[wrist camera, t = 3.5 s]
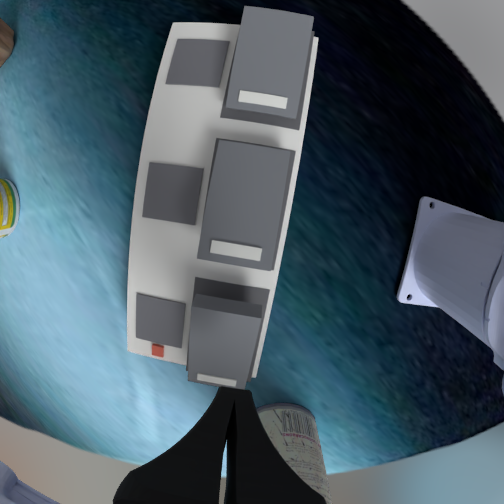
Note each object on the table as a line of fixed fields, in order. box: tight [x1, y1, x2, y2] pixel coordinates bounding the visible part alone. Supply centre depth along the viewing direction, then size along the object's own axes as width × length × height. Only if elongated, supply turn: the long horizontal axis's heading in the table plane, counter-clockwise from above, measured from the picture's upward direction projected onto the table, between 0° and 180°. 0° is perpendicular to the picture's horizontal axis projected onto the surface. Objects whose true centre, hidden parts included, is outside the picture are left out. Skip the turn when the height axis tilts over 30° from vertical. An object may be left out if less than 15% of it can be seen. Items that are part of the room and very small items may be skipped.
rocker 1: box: [226, 6, 314, 119], centre depth 13 cm, size 4×6×2 cm, turn 170°
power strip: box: [127, 22, 318, 382], centre depth 18 cm, size 9×23×3 cm, turn 170°
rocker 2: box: [197, 140, 291, 271], centre depth 15 cm, size 4×6×2 cm, turn 170°
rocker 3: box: [188, 294, 262, 390], centre depth 17 cm, size 4×6×2 cm, turn 170°
